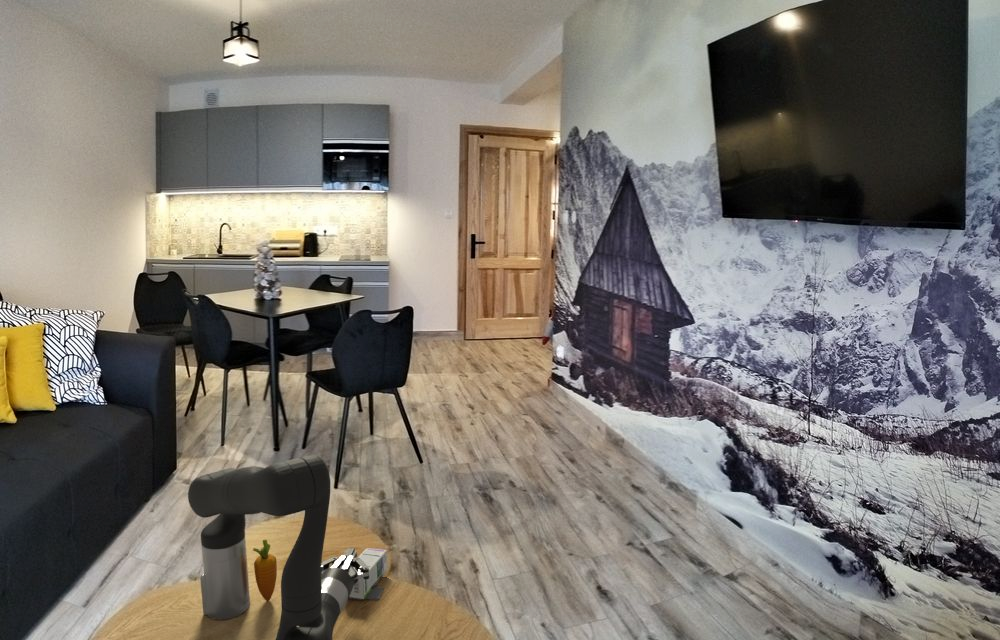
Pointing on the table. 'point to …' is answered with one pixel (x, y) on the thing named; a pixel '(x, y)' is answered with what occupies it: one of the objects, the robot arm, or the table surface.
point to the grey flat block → (372, 594)
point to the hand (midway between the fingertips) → (351, 551)
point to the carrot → (265, 571)
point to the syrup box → (370, 571)
